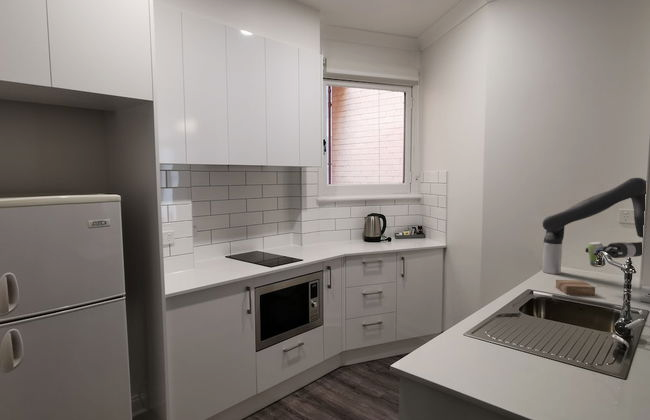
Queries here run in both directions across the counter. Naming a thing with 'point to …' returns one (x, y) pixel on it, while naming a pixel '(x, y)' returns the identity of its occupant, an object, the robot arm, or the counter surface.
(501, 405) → the counter surface
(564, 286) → the walnut base
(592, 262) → the beverage can
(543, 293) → the counter surface
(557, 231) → the robot arm
